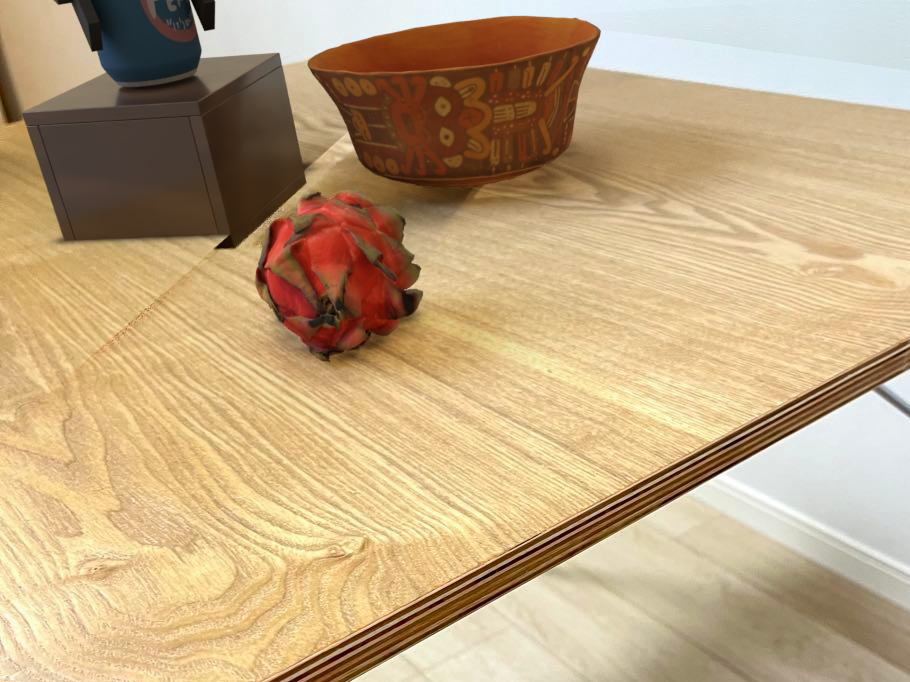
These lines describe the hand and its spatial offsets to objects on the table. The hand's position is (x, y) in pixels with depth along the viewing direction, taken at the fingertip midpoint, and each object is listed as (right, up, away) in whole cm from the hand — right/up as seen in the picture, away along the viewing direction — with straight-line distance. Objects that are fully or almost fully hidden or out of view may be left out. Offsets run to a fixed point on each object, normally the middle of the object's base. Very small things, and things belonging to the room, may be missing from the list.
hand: (153, 26), depth 76 cm
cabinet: (0, -10, +10) cm, 14 cm away
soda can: (-1, -2, +5) cm, 5 cm away
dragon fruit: (+15, -23, -12) cm, 30 cm away
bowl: (+20, -6, +12) cm, 25 cm away
